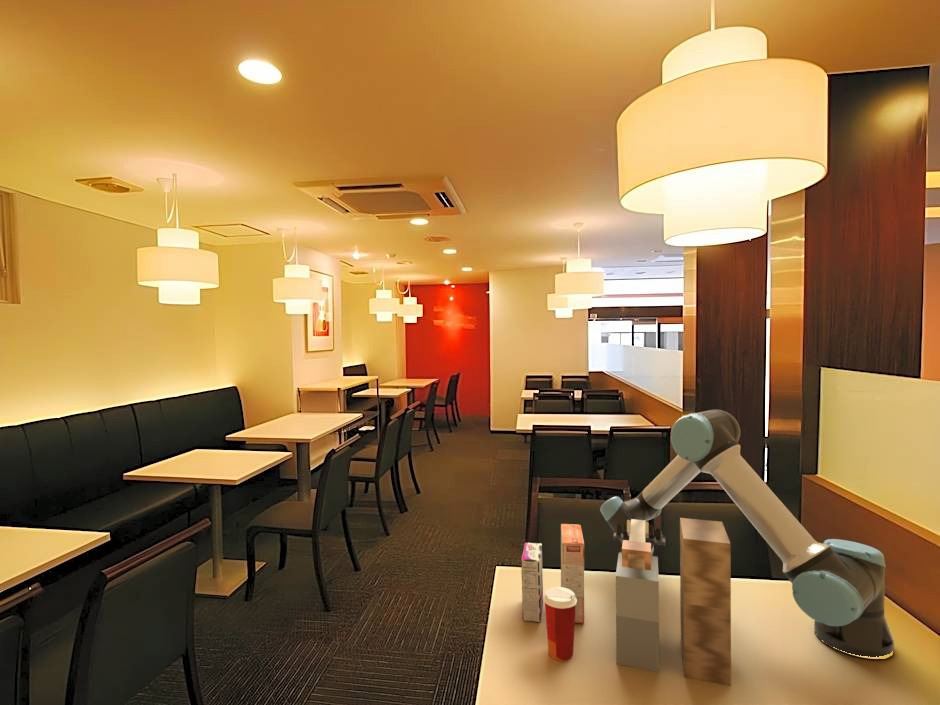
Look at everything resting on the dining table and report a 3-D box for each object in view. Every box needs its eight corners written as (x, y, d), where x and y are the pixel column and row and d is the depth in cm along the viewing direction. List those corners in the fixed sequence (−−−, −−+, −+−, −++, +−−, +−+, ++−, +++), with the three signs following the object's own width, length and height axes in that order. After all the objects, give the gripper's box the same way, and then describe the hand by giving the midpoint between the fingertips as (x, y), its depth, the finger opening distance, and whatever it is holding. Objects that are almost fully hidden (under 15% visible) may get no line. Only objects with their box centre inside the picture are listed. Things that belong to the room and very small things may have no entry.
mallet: (650, 532, 130) (650, 517, 129) (651, 570, 109) (651, 552, 109) (626, 529, 132) (626, 514, 131) (621, 566, 111) (621, 548, 111)
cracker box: (585, 624, 129) (585, 543, 128) (561, 623, 130) (560, 542, 129) (582, 596, 143) (581, 523, 142) (560, 595, 144) (559, 522, 143)
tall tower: (722, 649, 118) (722, 521, 117) (730, 685, 106) (730, 543, 105) (680, 642, 121) (679, 517, 120) (684, 676, 109) (683, 538, 108)
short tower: (658, 638, 123) (657, 556, 122) (659, 672, 110) (658, 581, 110) (619, 631, 126) (618, 552, 125) (616, 663, 113) (615, 575, 113)
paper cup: (582, 649, 119) (581, 590, 118) (571, 668, 112) (570, 605, 112) (550, 639, 123) (549, 582, 122) (538, 657, 116) (537, 597, 116)
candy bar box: (525, 599, 142) (524, 541, 141) (543, 601, 141) (542, 542, 140) (521, 621, 131) (520, 558, 131) (541, 623, 130) (540, 560, 130)
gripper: (671, 560, 138) (675, 547, 118) (608, 552, 143) (601, 538, 124) (670, 531, 141) (674, 514, 122) (609, 524, 147) (602, 507, 127)
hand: (637, 526), depth 123 cm, fingers closed on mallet, 3 cm apart
